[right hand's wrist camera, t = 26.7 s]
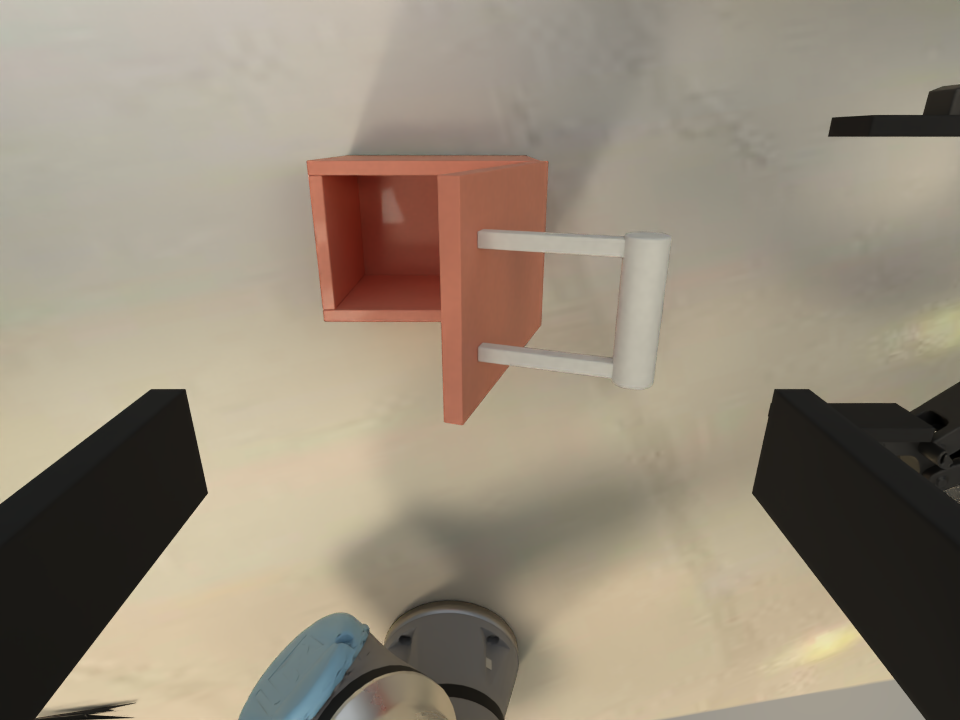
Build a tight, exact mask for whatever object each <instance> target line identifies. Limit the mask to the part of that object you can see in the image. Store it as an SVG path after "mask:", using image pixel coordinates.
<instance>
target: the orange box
mask: <svg viewBox="0 0 960 720" xmlns="http://www.w3.org/2000/svg"><path fill="white" fill-rule="evenodd" d="M437 180H438V217H439V254H440V292H441V329H442V366H443V403H444V422H446V423H452V424H458V425H463V424H464V423H465V422H466V420H467V419H468V418H469V417H470V415H471V414H472V413H473V412H474V410H475V409H476V408H477V406H478V405H479V404H480V403H481V401H482V400H483V399H484V397H485V396H486V395H487V394H488V392H489V391H490V390H491V388H492V387H493V386H494V385H495V383H496V382H497V381H498V380H499V378H500V377H501V376H502V374H503V373H504V372H505V371H506V369H507V368H508V367H509V365H510V366H518V367H526V368H534V369H541V370H549V371H557V372H564V373H572V374H580V375H588V376H595V377H603V378H611V381H612V382H613V383H614V384H615V385H617V386H619V387H622V388H626V389H632V390H642V389H647V388H649V387H651V386H652V385H653V382H654V374H655V366H656V358H657V350H658V342H659V335H660V327H661V319H662V311H663V303H664V295H665V287H666V279H667V272H668V264H669V256H670V248H671V240H672V238H671V236H670V235H668V234H664V233H658V232H630V233H627V234H625V236H607V235H588V234H569V233H550V232H545V226H546V203H547V180H548V161H530V162H523V163H517V164H510V165H503V166H496V167H489V168H482V169H475V170H469V171H462V172H455V173H448V174H441V175H438V176H437ZM544 253H558V254H574V255H590V256H605V257H621V258H622V267H621V277H620V288H619V298H618V309H617V319H616V330H615V340H614V351H613V358H610V357H601V356H593V355H584V354H576V353H567V352H559V351H550V350H542V349H534V348H525V347H524V346H525V345H526V344H527V342H528V341H529V340H530V339H531V337H532V336H533V335H534V333H535V332H536V331H537V330H538V328H539V327H540V326H541V319H542V296H543V273H544Z"/></svg>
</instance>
